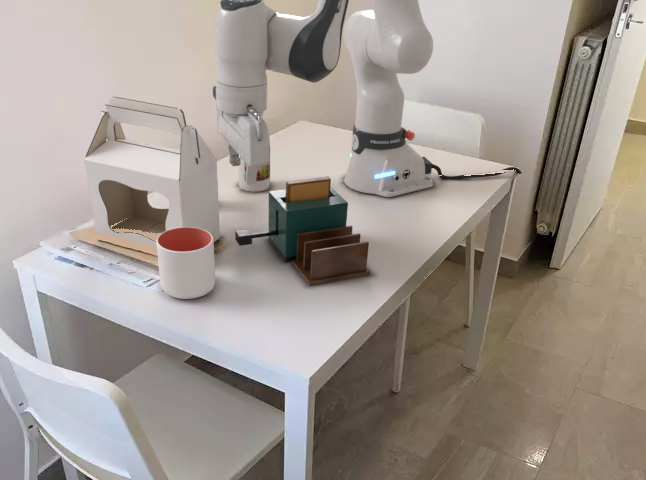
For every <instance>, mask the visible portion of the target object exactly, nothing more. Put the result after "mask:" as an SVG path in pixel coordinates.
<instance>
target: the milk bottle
mask: <svg viewBox="0 0 646 480" xmlns="http://www.w3.org/2000/svg"><path fill="white" fill-rule="evenodd" d="M264 112H265V111H264ZM264 112H261V113H260V114H261V118H262V119H263V120H264ZM268 135H269V136H270V134H269V133H268ZM240 162H241V164H240V165H239V166H237V173H238V175H237V178H238V180H237V181H238V186H239V188H240V190H244V191H245V192H263V191H266V190H268V189H269V188H270V186H271V139H270V137H269V162H268V165H267V166H263V167H259V169H258V172H257V175H256V183H255V184H250V185H249V184H247V183H246V181H245V173H246V169H247V167H246V162H245V161H244V160H243V159H242V158H241V161H240Z"/></svg>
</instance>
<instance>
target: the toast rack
mask: <svg viewBox="0 0 646 480" xmlns="http://www.w3.org/2000/svg"><path fill="white" fill-rule="evenodd" d="M353 228H354V227H353V225H346V226H345V227H339V228H332V229H325V230H319V231H312V232H305V233H299V234H297V256H296V260H292V261H291V264H292V265H293V267H294V268H295V269H296V270H297V272H298V273H299V274H300V275H301V277H302V278H303V279H304V280H305V281H306V283H307V284H308V286H315V285H321V284H325V283H326V284H327V283H332V282H337V281H338V282H339V281H343V280H349V279H354V278H360V277H365V276H370V275H371V270H370V269H369V268H368V258H369V257H368V256H369V246H370V242H369V241H368V240H367V241H361V233H360V232H359V233H353Z"/></svg>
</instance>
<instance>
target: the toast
mask: <svg viewBox="0 0 646 480" xmlns="http://www.w3.org/2000/svg"><path fill="white" fill-rule="evenodd" d="M331 183H332V179H331V178H330V176H321V177H312V178H304V179H296V180H287V181H285V189H286V203H289V202H296V201H304V200H311V199H319V198H326V197H330V187H331V185H332V184H331Z"/></svg>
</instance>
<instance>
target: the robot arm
mask: <svg viewBox="0 0 646 480" xmlns="http://www.w3.org/2000/svg"><path fill="white" fill-rule="evenodd" d="M349 2H350V0H317V3H316V8H315V11H314V12H312V13H311V14H310V15H307V16H301V15H295V14H289V13H285V12H281V11H277V10H274V9H273V8H271V7H269V6H268V5H267V4H266V2H265V0H220V1H219V3H218V6H217V11H216V16H215V17H216V18H215V29H214V30H215V31H214V33H215V34H214V36H215V37H214V38H215V39H214V50H215V57H216V60H217V72H216V76H215V84H213V85H212V87H211V95H212V98H213V99H214V100H215V103H214V105H215V117H216V125H217V130H218V133H219V135H220V136H221V137H222V139H224V140H225V141H226V148H227V152H228V156H229V163H230V165H231V166H232V167H238V166H239V165H240V164H241V162H240V161H241V158H242V159H243V160H244V161H245V162H246V167H247V169H246V173H245V181H246V183H247V184H249V185H250V184H255V183H256V175H257V172H258V169H259V167H263V166H267V165H268V162H269V138H270V134H269V127H268V124H267V122H266V121H265V119H264V118H263V119H262V118H261V114H260V113H261V112H265V111H267V109H268V75H267V73H266V71H267V70H268V71H272V72H274V73H278V74H284V75H288V76H292V77H295V78H298V79H301V80H304V81H307V82H310V83H314V84H315V83H318V82H320V81H322V80H323V79H325V78H326V77H328V76H330V74H331V73H332V72H333V71H334V70H335V69H336V67H337V65H338V62H339V60H340V56H341V48H342V36H343V41H344V42H343V43H344V45H345V47H346V49H347V50H348V52H349V55H350V58H351V62H352V67H353V73H354V78H355V86H356V104H355V105H356V106H355V107H356V108H355V121H354V124H353V125H352V135H351V153H350V154H349V157H350V160H349V164H348V168H347V171H346V174H345V177H344V179H343V183H344V184H345V185H346V187H348V188H350V189H352V190H354V191H356V192H360V193H364V194H372V195H376V196H381V197H384V198H392V197H397V196H400V195H405V194H409V193H412V192H417V191H422V190H425V189H429V188H432V187H433V186H434V180H433V178H432V177H431V176H430V175H431V174H432V171H433V169H434V170H436V172H437V175H438V177H439V178H440V179H442V180H451V181H452V180H453V181H455V180H463V179H476V178H478V179H479V178H489V177H496V176H500V175H502V174H506V172H504V173H495V174H485V175H471V176H464V175H465V174H459V175H453V176H452V175H451V176H450V175H445V174H443V172H442V168H441V167H440V166H438V165H436V164H433V162H431V161H430V160H429V159H428V158H427V157H426V156H421V155H420V153H418V152H417V151H416V150H415V149H414V148H413V147H412V146H411V145H409V144H408V143H407V141H406V139H407V140H408V141H409V142H411V141H413V140H414V139H415V137H416V134H415V133H414V131H411V130H410V129H408V130H407V129H406V128H404V127H402V123H403V114H404V105H405V93H404V90H403V88H402V86H401V85H400V81H399V79H398V75H397V74H403V75H406V74H407V75H410V74H411V75H414V74H417V73H419V72H421V71H422V70H423V69H424V68H425V67H427V65H428V63H430V60H431V58H432V55H433V51H434V39H433V35H432V34H431V32H430V30H429V29H428V27H427V25H426V24H425V22H424V18H423V16H422V12H421V8H420V4H419V0H370V3H371V6H372V9H371V8H370V9H362V10H358V11H354V13H352V14H351V15H350V16H349V18H348V19H347V20H346V16H347V15H346V14H347V10H348V7H349ZM345 20H346V22H345ZM268 134H269V135H268ZM513 169H514V171H513V172H515V173H516V174H517V175H521V174H522V171H521V170H520V169H519V168H518V167H516V166H509V167H506V168H503V169H502V170H513ZM515 170H516V171H515ZM442 174H443V175H442ZM439 175H442V176H439Z"/></svg>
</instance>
